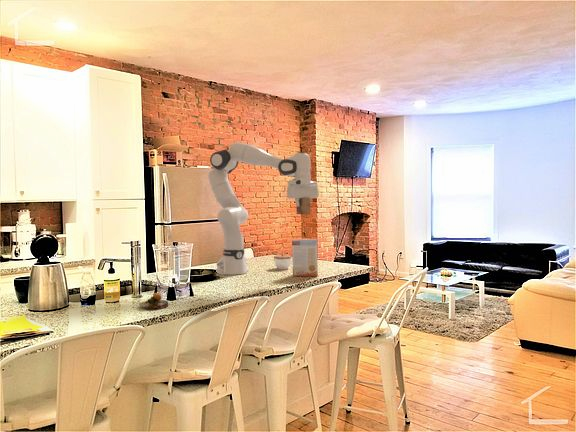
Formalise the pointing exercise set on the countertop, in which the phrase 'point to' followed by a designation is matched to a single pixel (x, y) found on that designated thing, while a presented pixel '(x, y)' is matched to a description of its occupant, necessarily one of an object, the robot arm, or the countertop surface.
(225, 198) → the robot arm
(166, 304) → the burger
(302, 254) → the cracker box
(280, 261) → the lidded jar
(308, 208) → the walnut block
